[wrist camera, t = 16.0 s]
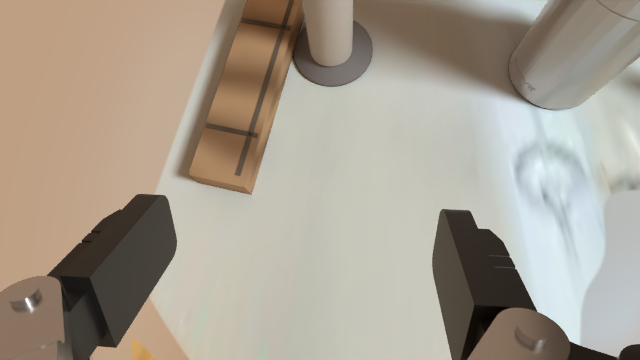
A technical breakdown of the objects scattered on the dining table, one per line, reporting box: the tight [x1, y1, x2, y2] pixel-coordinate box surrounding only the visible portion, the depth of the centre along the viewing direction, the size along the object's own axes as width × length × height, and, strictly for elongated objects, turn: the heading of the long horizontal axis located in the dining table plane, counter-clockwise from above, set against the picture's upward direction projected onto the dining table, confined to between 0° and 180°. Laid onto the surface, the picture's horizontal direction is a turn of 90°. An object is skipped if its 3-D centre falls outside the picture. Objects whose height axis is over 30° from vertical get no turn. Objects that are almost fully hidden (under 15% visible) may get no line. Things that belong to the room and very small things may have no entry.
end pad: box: [294, 21, 372, 87], centre depth 46 cm, size 9×9×1 cm
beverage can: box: [302, 0, 353, 66], centre depth 40 cm, size 5×5×12 cm
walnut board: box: [188, 0, 304, 195], centre depth 44 cm, size 24×6×3 cm, turn 166°
